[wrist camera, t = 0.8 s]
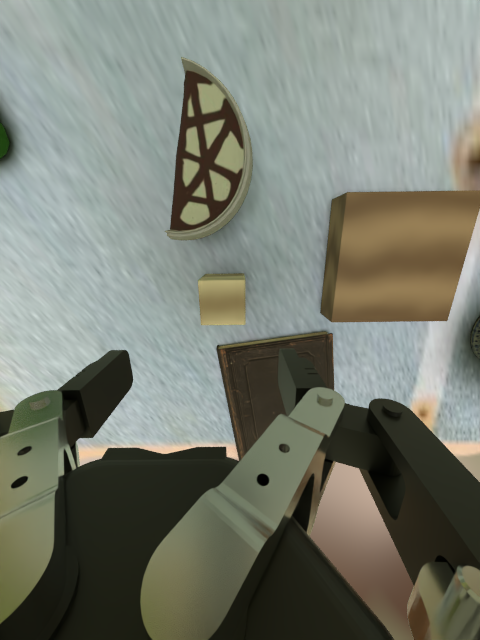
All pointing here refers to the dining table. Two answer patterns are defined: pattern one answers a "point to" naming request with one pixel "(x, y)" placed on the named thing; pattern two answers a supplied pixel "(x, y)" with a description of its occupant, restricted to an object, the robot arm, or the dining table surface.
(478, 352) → the decorative vase
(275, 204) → the dining table surface
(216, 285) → the maple block
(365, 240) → the block
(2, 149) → the bell pepper
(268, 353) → the hardcover book
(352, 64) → the dining table surface
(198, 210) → the half round tub
